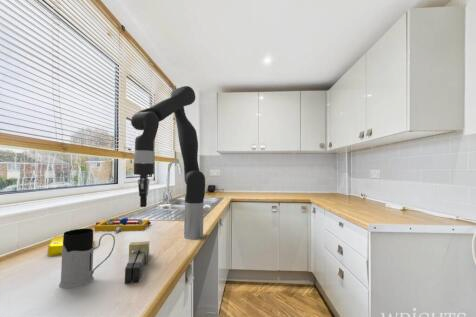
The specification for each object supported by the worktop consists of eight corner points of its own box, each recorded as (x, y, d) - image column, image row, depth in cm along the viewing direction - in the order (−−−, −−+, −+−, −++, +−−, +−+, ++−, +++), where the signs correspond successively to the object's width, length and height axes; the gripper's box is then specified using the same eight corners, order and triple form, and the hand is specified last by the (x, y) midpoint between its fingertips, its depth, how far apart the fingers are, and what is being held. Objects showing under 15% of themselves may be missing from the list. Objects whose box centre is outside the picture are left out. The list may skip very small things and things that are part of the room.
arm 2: (142, 258, 90) (142, 246, 90) (147, 257, 91) (147, 245, 91) (132, 283, 71) (132, 267, 71) (138, 282, 71) (139, 267, 71)
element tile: (93, 241, 111) (93, 231, 111) (92, 251, 98) (93, 239, 98) (52, 246, 103) (53, 235, 104) (46, 257, 90) (47, 245, 91)
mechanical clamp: (98, 215, 139) (151, 214, 143) (97, 226, 139) (151, 225, 143) (81, 222, 121) (143, 221, 125) (81, 235, 121) (142, 233, 125)
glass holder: (63, 278, 74) (65, 229, 74) (114, 270, 79) (116, 225, 80) (54, 292, 66) (57, 237, 66) (112, 282, 71) (114, 232, 72)
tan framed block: (130, 262, 86) (130, 242, 86) (148, 260, 87) (149, 241, 88) (128, 265, 83) (129, 245, 83) (148, 264, 84) (148, 243, 85)
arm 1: (134, 258, 90) (134, 246, 90) (139, 258, 90) (140, 246, 90) (124, 284, 70) (125, 268, 70) (131, 283, 71) (131, 267, 71)
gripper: (136, 162, 99) (135, 204, 98) (131, 162, 86) (130, 210, 86) (155, 162, 101) (154, 203, 101) (153, 162, 88) (152, 209, 88)
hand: (143, 206), depth 93 cm, fingers closed
